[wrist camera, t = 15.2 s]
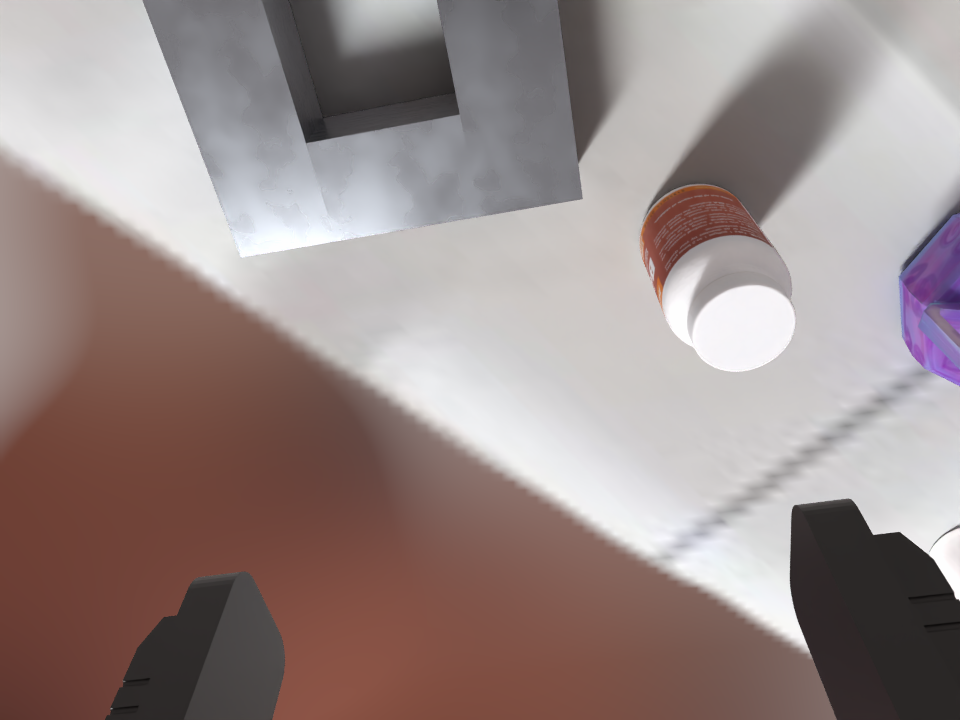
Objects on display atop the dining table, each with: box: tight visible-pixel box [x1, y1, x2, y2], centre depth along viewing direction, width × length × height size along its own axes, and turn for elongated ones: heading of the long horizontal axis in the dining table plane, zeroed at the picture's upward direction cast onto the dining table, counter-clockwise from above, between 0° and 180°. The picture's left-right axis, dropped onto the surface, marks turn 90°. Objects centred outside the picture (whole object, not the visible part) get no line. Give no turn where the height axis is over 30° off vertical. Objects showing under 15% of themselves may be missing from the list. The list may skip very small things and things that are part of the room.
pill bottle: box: [639, 184, 796, 372], centre depth 41 cm, size 6×6×11 cm
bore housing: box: [143, 0, 583, 258], centre depth 38 cm, size 18×18×4 cm
